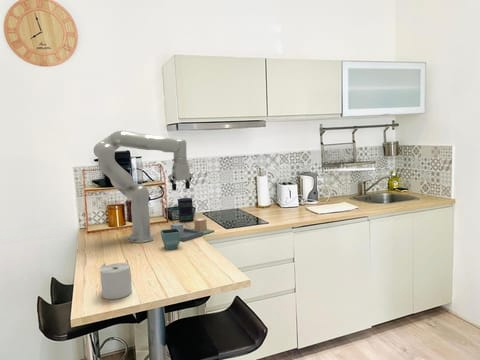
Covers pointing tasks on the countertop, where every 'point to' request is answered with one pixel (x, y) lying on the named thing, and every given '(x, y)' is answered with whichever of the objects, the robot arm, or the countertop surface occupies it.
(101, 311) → the countertop surface
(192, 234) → the parts tray
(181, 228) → the plain box
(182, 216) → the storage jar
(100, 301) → the countertop surface
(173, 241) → the flower pot
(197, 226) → the labelled box
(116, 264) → the toilet tissue
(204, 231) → the mat
